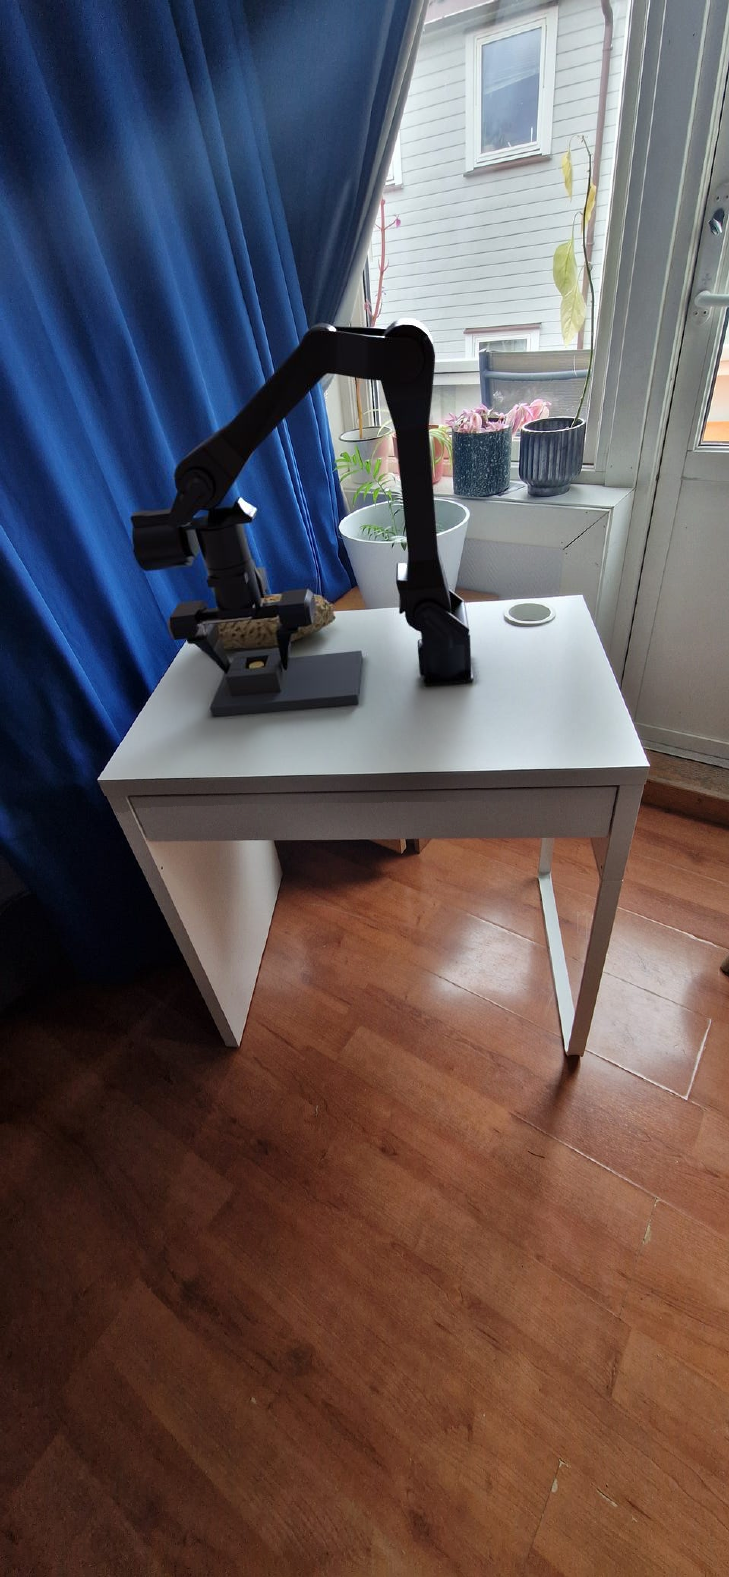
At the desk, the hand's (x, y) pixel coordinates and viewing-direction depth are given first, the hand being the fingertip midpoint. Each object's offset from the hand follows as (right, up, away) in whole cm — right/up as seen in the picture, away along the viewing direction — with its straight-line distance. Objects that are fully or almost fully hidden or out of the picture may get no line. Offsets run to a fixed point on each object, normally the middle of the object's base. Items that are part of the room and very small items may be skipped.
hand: (257, 671), depth 90 cm
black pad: (0, -1, +1) cm, 2 cm away
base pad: (+4, -2, +1) cm, 5 cm away
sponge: (0, +8, +14) cm, 16 cm away
